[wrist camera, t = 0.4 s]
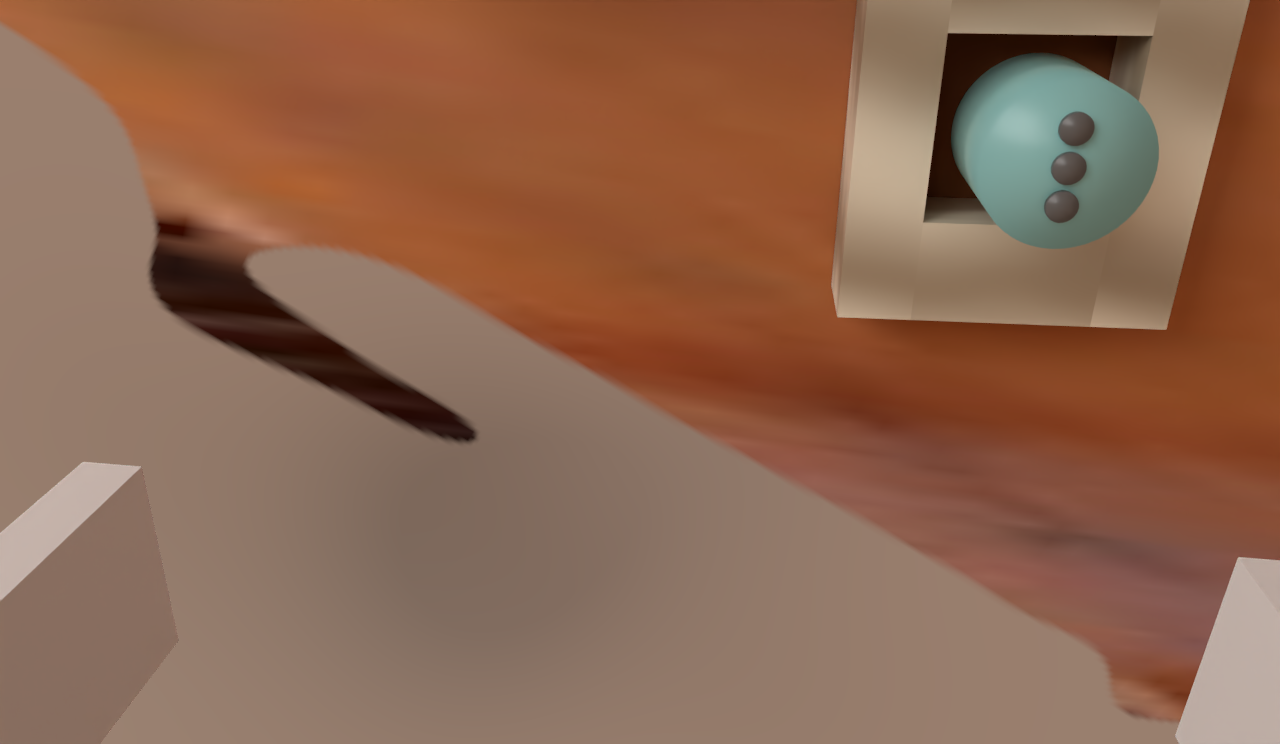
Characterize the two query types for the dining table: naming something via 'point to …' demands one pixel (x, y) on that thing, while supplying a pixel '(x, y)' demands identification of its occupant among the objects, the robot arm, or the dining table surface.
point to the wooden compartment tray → (961, 227)
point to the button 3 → (1054, 150)
